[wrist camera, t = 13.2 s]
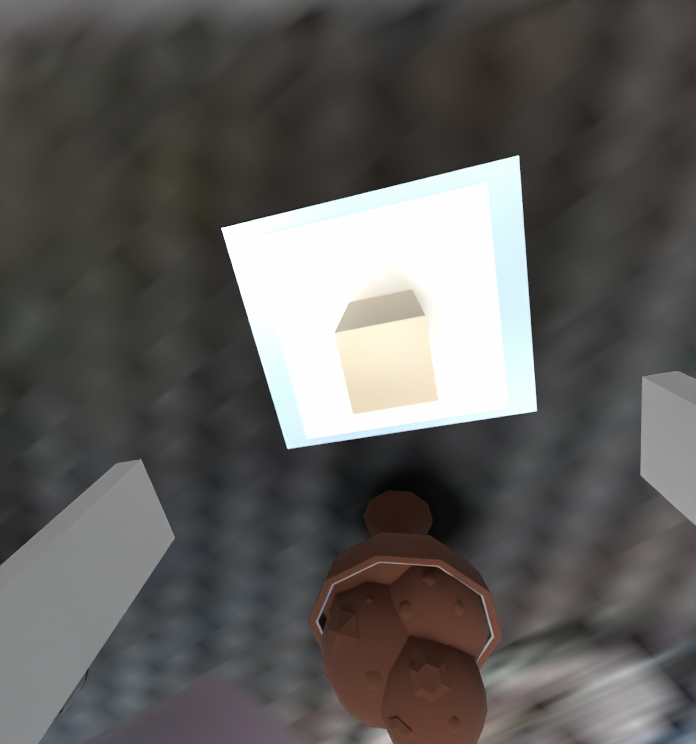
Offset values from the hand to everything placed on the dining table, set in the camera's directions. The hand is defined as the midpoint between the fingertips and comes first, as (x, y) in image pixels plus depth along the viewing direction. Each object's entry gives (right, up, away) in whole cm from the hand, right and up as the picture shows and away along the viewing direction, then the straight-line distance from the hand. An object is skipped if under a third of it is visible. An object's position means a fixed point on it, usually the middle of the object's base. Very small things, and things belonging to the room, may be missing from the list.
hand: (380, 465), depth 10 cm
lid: (+2, +6, +15) cm, 17 cm away
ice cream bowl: (+3, -9, +21) cm, 24 cm away
